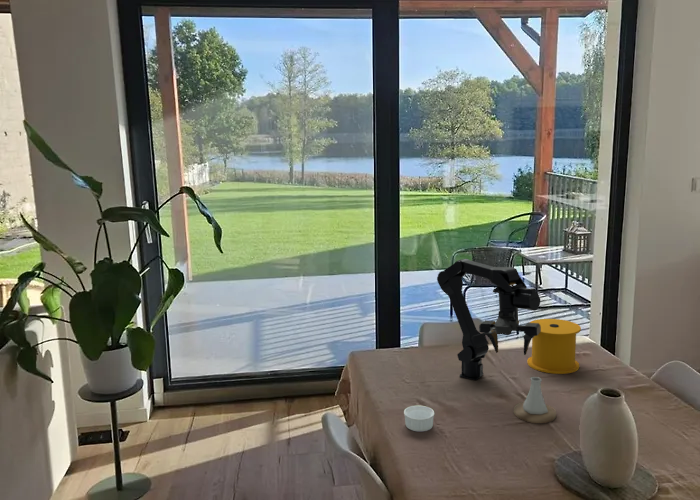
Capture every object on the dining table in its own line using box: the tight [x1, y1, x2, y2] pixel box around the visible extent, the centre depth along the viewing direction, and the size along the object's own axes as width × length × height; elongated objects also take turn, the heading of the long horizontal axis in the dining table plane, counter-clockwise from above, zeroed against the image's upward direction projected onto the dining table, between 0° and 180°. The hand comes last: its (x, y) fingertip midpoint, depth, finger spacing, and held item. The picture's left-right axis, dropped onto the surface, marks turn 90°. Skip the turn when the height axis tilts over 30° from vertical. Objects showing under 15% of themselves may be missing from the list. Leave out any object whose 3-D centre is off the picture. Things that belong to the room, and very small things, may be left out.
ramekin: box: [403, 405, 435, 433], centre depth 169 cm, size 9×9×4 cm
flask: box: [523, 376, 548, 415], centre depth 173 cm, size 7×7×10 cm
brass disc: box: [513, 401, 557, 424], centre depth 174 cm, size 12×12×1 cm
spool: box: [526, 318, 582, 375], centre depth 211 cm, size 18×18×15 cm
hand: (510, 353), depth 189 cm, fingers open, 9 cm apart
